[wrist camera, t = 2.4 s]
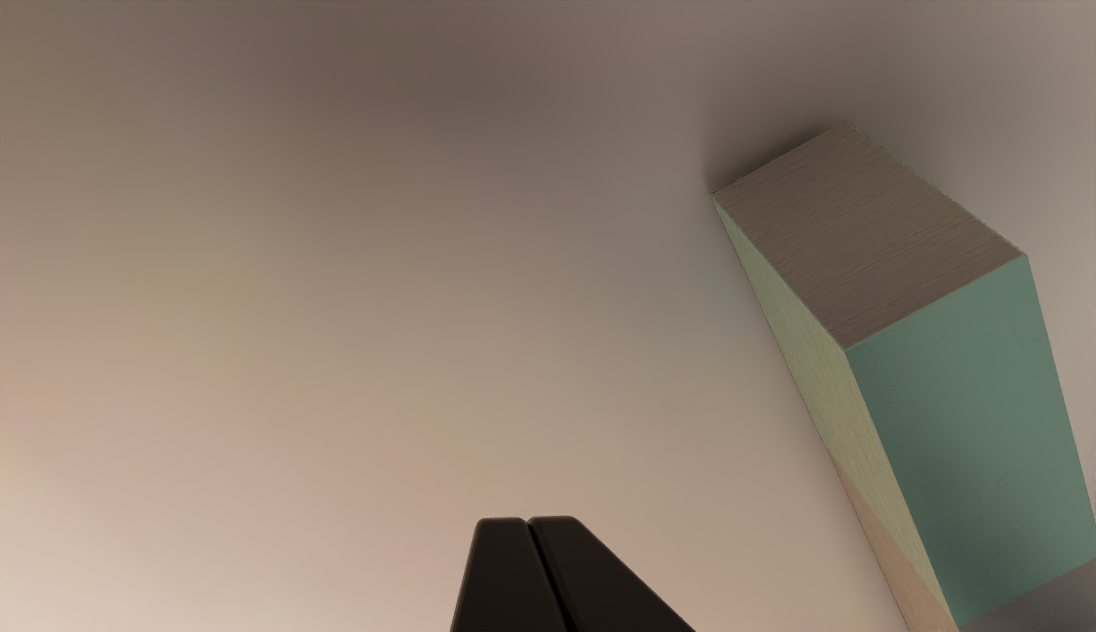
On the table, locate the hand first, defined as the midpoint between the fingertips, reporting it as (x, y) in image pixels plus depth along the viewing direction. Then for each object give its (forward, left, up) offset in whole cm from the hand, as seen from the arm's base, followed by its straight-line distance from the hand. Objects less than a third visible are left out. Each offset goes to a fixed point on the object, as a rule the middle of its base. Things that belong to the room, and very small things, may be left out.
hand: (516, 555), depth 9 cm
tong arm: (-10, +6, -6) cm, 12 cm away
